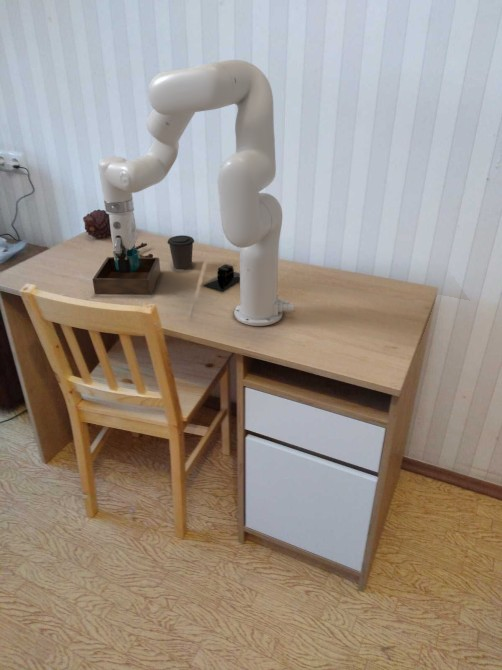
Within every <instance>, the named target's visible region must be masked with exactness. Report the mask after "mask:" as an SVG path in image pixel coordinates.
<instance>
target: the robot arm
mask: <svg viewBox="0 0 502 670" xmlns="http://www.w3.org/2000/svg"><path fill="white" fill-rule="evenodd" d="M147 96H148V101H149V103H150V106H151V107H152V109H151V112H150V113H149V115H148V117H147V119H146V129H147V131H148V133H149V134H150V135H151V136H152V137H153V142H152V143H151V146H150V147H149V150H148V151H147V153H146V154H145V155H143V156H139V157H137V158H135V159H132V160H128V161H127V159H126V158H125V157H122V156H107V157H104V158H101V159H100V160H99V161H98V165H97V166H98V172H99V178H100V179H99V180H100V184H101V190H102V196H103V203H104V209H105V211H106V213H107V214H109V218H110V229H111V233H110V235H111V242H112V243H111V244H112V247H113V250H114V251H115V253H116V255H117V261H118V267H119V272H120V273H130V272H131V268H130V261H129V259H128V249H129V250H131V249H132V248H134V249H135V247H136V243H137V241H138V238H139V235H138V229H137V223H136V218H135V214H134V211H135V206H134V199H133V194H135V193H139V192H141V191H144V190H147V189H148V188H150V187H153V186H155V185H157V184H159V183H161V182H162V181H163V180H165V178H166V176H168V174H169V172H170V171H171V169H172V167H173V165H174V164H175V162H176V160H177V158H178V154H179V148H180V143H179V142H180V139H181V137H182V135H183V134H184V132H185V130H186V129H187V127H188V125H189V123H191V121H192V118H194V116H195V114H196V113H199V112H207V111H214V110H217V109H221V108H225V107H229V106H231V105H232V106H233V105H236V108H237V113H236V117H235V125H234V133H235V143H236V144H235V145H236V146H235V153H233V154H230V155H229V156H228V157H226V158H225V160H224V161H222V163H221V165H220V166H219V169H218V174H217V190H218V191H217V192H218V202H219V213H220V222H221V223H220V224H221V229H222V231H223V234H224V236H225V239H226V240H227V241H228V242H229V243H230V244H231V245H233V246H234V247H236V248H239V274H240V282H239V304H238V305H236V307H235V308H234V317H235V319H236V320H237V321H238V322H239V323H242V324H244V325H247V326H252V327H253V326H254V327H264V326H269V325H273V324H276V323H277V322H279V321H280V320H281V319H282V318H283V314H284V313H283V312H295V310H296V309H295V308H296V307H295V305H296V304H295V303H290V302H291V301H290V300H287V299H285V300H281V299H279V294H278V281H279V280H278V279H279V278H278V277H279V250H280V249H279V248H280V237H281V232H282V227H283V208H282V206H281V203H280V202H279V200H278V199H277V198H276V197H275V196H273V195H272V194H270V193H268V192H261V191H263V190H264V189H266V188H267V187H269V186H270V185H271V184H272V183H273V182H274V180H275V178H276V175H277V163H276V162H277V161H276V141H275V140H276V139H275V124H274V123H275V121H274V119H275V118H274V95H273V91H272V87H271V84H270V81H269V80H268V77H267V76H266V75H265V73H264V72H263V70H261V69H260V68H259V67H257V66H256V65H254V64H253V63H251V62H248V61H247V60H246V61H245V60H241V59H227V60H222V61H217V62H209V63H205V64H199V65H195V66H189V67H185V68H178V69H171V70H165V71H160V72H159V73H157V74H156V75H155V76H154V77H153V78H152V79H151V81H150V82H149V85H148V90H147ZM121 246H125V248H121ZM122 251H125V255H124V253H122Z"/></svg>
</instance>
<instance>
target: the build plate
mask: <svg viewBox="0 0 502 670" xmlns="http://www.w3.org/2000/svg"><path fill="white" fill-rule="evenodd" d="M216 273H217V274H216V275H217V276H216V277H215V278H213V279H211V280H209V281H208V282H206V283H205V284H203V287H206V288H208V289H212V290H214V291H218V292H221V293H224V292H226V291H227V290H229V289H230V288H232V287H234V286H235V285H237V284H238V283H240V272H236V271H235V269H234V266H233V265H230V264H227V263H225V264H223V265H221V266H219V267H218V268H217V272H216Z"/></svg>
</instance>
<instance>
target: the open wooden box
mask: <svg viewBox="0 0 502 670" xmlns="http://www.w3.org/2000/svg"><path fill="white" fill-rule="evenodd" d="M140 262H141V266H140V267H139V268H137V270H135V271H133V272H130V273H120V272H119V270H117V269H116V267H115V260H114V256H111V257H110V256H107V257H106V258H105V260H104V261H103V263H102V264H101V266H100V267H99V269H98V270H97V272H96V273H95V275H94V276H93V278H92V284H93V291H94V295H125V296H126V295H127V296H128V295H129V296H130V295H131V296H132V295H133V296H134V295H137V296H138V295H139V296H151V294H152V293H153V290H154V287H155V286H156V282H157V281H158V278H159V276H160V274H161V264H160V257H153V258H143V257H140Z"/></svg>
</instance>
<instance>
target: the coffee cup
mask: <svg viewBox="0 0 502 670" xmlns="http://www.w3.org/2000/svg"><path fill="white" fill-rule="evenodd" d="M166 243H167V244H168V245H169V250H170V257H171V258H172V259H171V261H172V265H173V268H174V269H175V270H179V271H185V270H188V269H190V268H191V269H192V265H193V249H194V248H193V247H194V243H195V239H194V238H193V236H189V235H181V234H180V235H175V236H172V237H170V238H168V239H167V242H166Z"/></svg>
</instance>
